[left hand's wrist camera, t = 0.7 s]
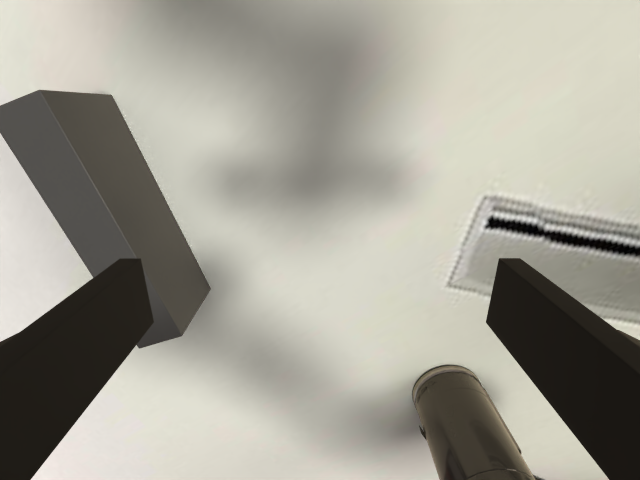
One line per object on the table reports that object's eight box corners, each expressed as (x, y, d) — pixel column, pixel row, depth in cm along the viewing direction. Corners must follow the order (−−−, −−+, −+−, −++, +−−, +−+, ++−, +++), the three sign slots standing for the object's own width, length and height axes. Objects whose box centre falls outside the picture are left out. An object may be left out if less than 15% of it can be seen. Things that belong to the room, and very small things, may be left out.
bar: (70, 110, 35) (-15, 111, 26) (111, 94, 34) (39, 89, 25) (176, 299, 42) (138, 348, 34) (210, 289, 42) (182, 336, 33)
